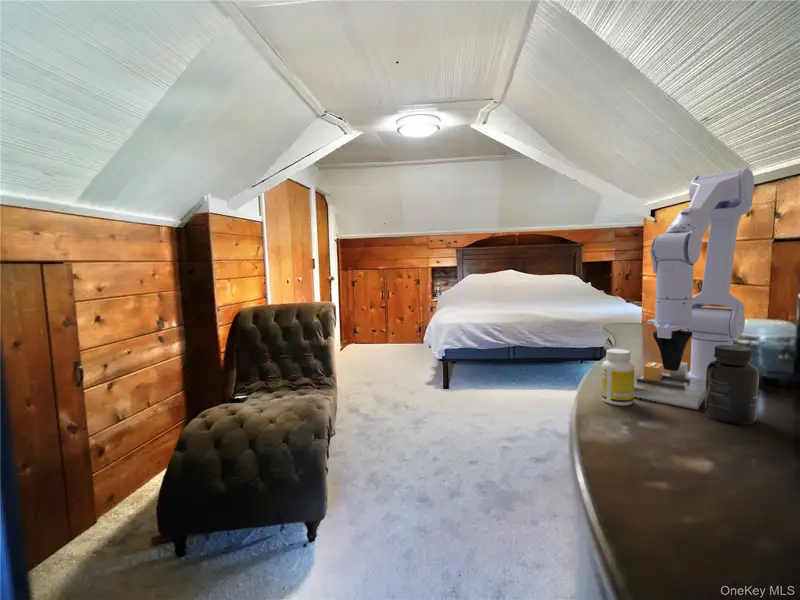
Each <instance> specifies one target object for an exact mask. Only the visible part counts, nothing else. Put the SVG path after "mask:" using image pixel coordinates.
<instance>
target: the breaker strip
mask: <svg viewBox="0 0 800 600" xmlns="http://www.w3.org/2000/svg"><path fill="white" fill-rule="evenodd" d="M688 365H689V362H688V361H687V362H686V361H685V362H684V361H681V364H680V367H679V369H678V371H671V370H669V371H670V372H669V373H667V372H663V378H662V379H661V380H660V381H659V382H658V381H652V380H646V379H644V373H643V374H642V375H641V376H640V377H637V378H636V380H634V397H637V398H636V399H639V398H642V399H641V400H645V399H648V400H647V401H650V400H651V401H650V402H655V401H656V402H655V403H662V404H666V405H667V404H668V405H673V406H678V407H681V408H682V407H683V408H687V409H694V410H699V408H700V406H701V405H702V404H703V401H705V390H706V379H702V378H695V377H688V376H687V374H688V372H689V371H688V369H689V367H688Z"/></svg>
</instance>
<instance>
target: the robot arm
mask: <svg viewBox="0 0 800 600" xmlns="http://www.w3.org/2000/svg"><path fill="white" fill-rule="evenodd" d="M688 190H689V192H688V194H689V195H688V196H689V199H690V202H689V205H688V206H687V208H682V209H681V210H680V211H679V212H677V213H676V216H675V217H674V219H673V220H672V222H671V223H670V225H669V226H668V228H667V229H666V231H664V233H660V234H659V235H658V236H654V238H653V239H652V243H651V245H650V252H649V253H650V258H651V261H652V271H653V273H654V274H655V298H654V299H655V301H654V302H655V304H654V305H655V307H654V308H655V309H654V319H652V318H651V319H648V320H647V324H648V325H653V326H655V328H656V329H657V330H655V331H654V332H652V337H653V339H654V341H655V342H656V344H657V346H658V348H659V349H658V350H659V352H660V357H661V358H660V359H661V363H662V364H663V370H667V371H670V370H671V371H678V369H679V367H680V364H681V362H682V360H683V356H684V352H685V349H686V346H687V344H688V342H689V341H690V339H691V342H690V343H691V344H690V345H691V347H690V366H689V367H690V370H689V371H688V374H687V376H688V377H695V378H702V379H706V369H707V365H708V364H709V363H710V362H712V361H714V360H716V358H715V357H714V353H715V346H717V345H734V341H735V340H737V339H739V338H740V337H741V336H742V335H743V333H744V331H745V323H746V321H745V320H746V317H745V306H744V304H743V302H742V301H741V300H740V299H738V298H737V297H736V296H735V295H733V294H731V293H730V290H731V282H732V275H733V274H732V273H733V266H734V265H733V264H734V258H735V251H736V244H737V243H736V242H737V236H738V228H739V224H740V223H739V222H740V220H741V217H742V216H743V215H746V214H747V213H749V212H750V211H751V207H752V206H753V198H754V191H755V179H754V173H753V171H752V170H751V169H750V168H749V167H745V168H742V169H736V170H730V171H724V172H717V173H710V174H704V175H695V176H694V177H693V178H692V179H691V181H690V183H689V189H688ZM708 229H709V231H708V240H707V248H706V255H705V263H704V270H703V271H704V272H703V278H702V286H701V291H700V292H699V293H697V294H695V295H693V294H694V293H693V291H694V270H695V269H694V266H695V264H696V263H697V262H698V261H699V259H700V255H701V250H702V246H703V237H704V236H705V234H706V232H707V230H708Z"/></svg>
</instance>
